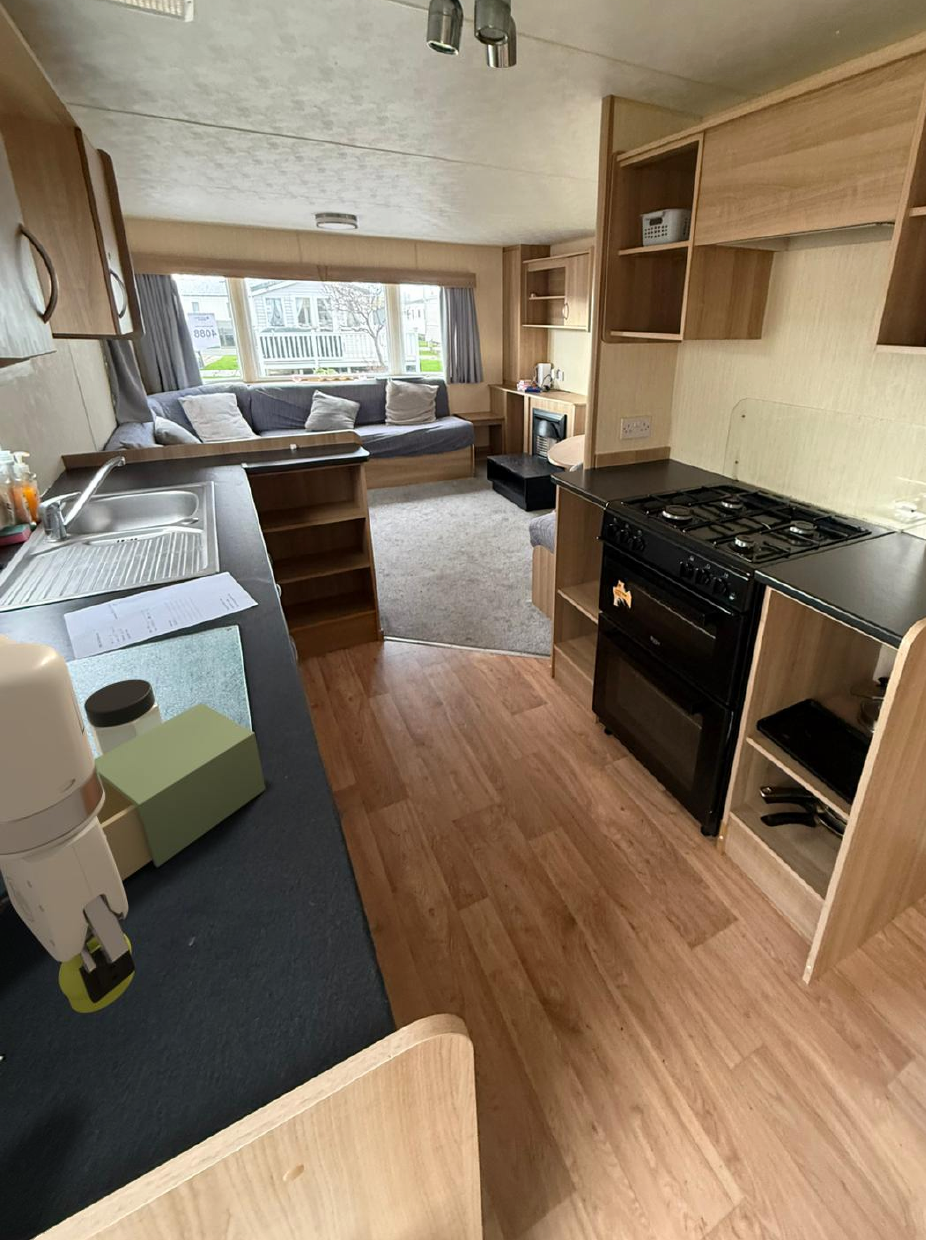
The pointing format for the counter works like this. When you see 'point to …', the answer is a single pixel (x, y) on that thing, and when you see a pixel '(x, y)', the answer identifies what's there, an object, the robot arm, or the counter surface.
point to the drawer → (119, 834)
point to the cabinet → (185, 776)
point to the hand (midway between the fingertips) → (96, 964)
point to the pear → (76, 988)
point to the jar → (121, 713)
